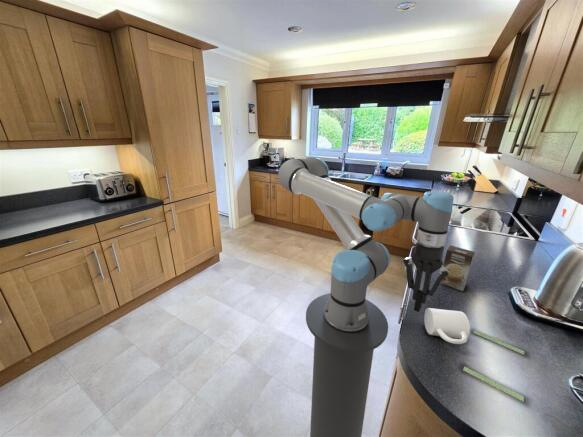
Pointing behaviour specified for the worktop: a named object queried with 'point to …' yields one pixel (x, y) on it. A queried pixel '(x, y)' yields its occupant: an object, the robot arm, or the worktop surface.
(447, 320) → the mug
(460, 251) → the coffee box
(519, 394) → the strips
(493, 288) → the worktop surface
